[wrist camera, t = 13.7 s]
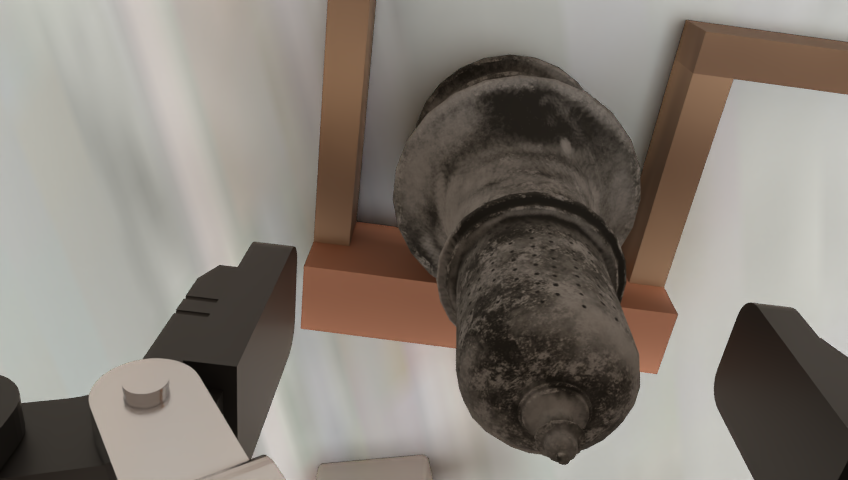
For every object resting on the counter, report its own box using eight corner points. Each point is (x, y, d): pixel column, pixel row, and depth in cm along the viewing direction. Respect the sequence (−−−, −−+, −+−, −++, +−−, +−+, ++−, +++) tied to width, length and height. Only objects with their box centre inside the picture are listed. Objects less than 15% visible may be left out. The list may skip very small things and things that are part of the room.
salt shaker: (467, 271, 22) (476, 650, 11) (363, 112, 19) (247, 392, 9) (645, 183, 20) (860, 526, 9) (553, 0, 18) (697, 173, 7)
